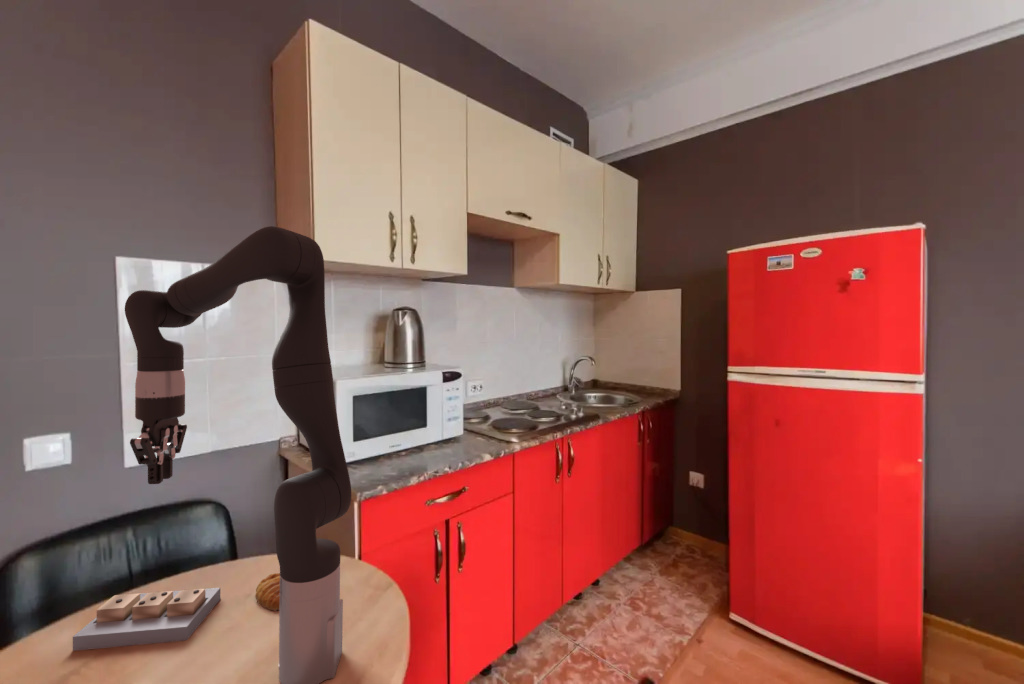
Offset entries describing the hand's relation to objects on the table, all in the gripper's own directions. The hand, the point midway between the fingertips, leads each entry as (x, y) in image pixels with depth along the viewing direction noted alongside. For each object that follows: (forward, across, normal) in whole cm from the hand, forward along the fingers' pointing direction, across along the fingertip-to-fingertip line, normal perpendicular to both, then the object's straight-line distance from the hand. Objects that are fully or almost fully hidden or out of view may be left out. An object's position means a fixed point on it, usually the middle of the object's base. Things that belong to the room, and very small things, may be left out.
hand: (160, 480), depth 83 cm
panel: (+27, -2, 0) cm, 27 cm away
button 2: (+25, -2, -6) cm, 26 cm away
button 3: (+25, -2, 0) cm, 25 cm away
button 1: (+25, -2, +6) cm, 26 cm away
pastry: (+28, +3, -20) cm, 34 cm away
